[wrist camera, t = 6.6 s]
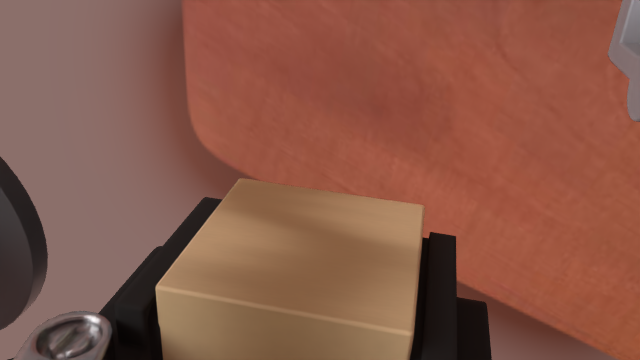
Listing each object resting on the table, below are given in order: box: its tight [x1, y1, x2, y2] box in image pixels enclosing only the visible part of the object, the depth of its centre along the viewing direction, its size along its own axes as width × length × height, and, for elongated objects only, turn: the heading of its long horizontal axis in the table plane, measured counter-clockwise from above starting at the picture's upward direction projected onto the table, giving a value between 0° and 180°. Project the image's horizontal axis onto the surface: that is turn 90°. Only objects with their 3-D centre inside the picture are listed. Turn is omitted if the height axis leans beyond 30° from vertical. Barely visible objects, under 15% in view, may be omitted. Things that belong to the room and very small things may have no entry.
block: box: [155, 178, 425, 360], centre depth 11 cm, size 4×4×4 cm
